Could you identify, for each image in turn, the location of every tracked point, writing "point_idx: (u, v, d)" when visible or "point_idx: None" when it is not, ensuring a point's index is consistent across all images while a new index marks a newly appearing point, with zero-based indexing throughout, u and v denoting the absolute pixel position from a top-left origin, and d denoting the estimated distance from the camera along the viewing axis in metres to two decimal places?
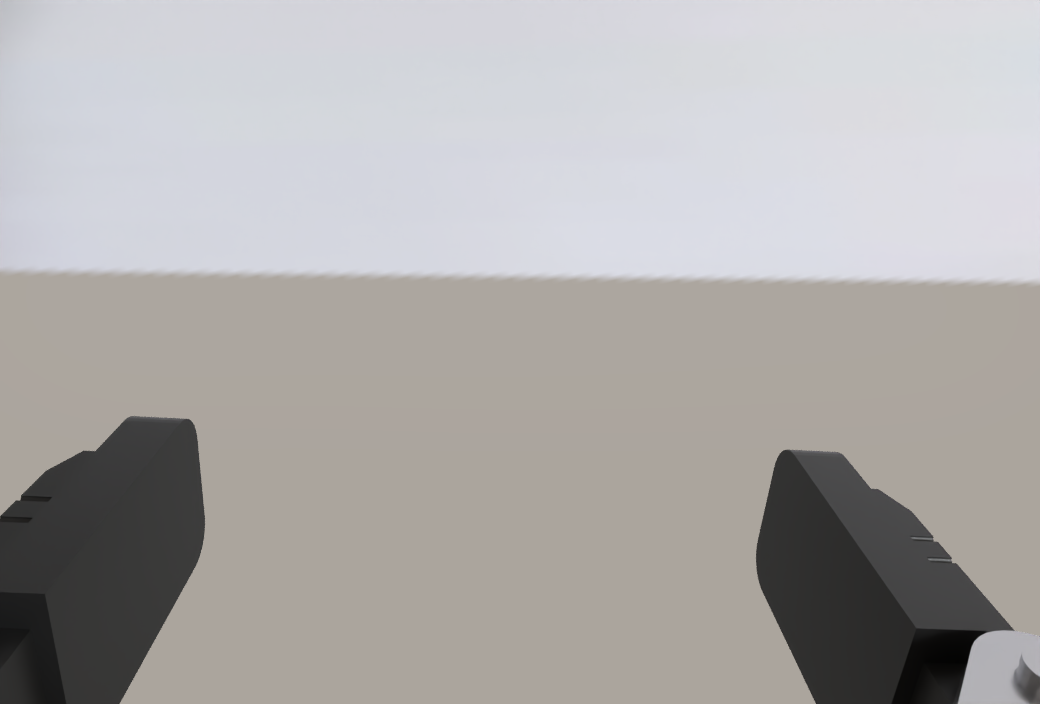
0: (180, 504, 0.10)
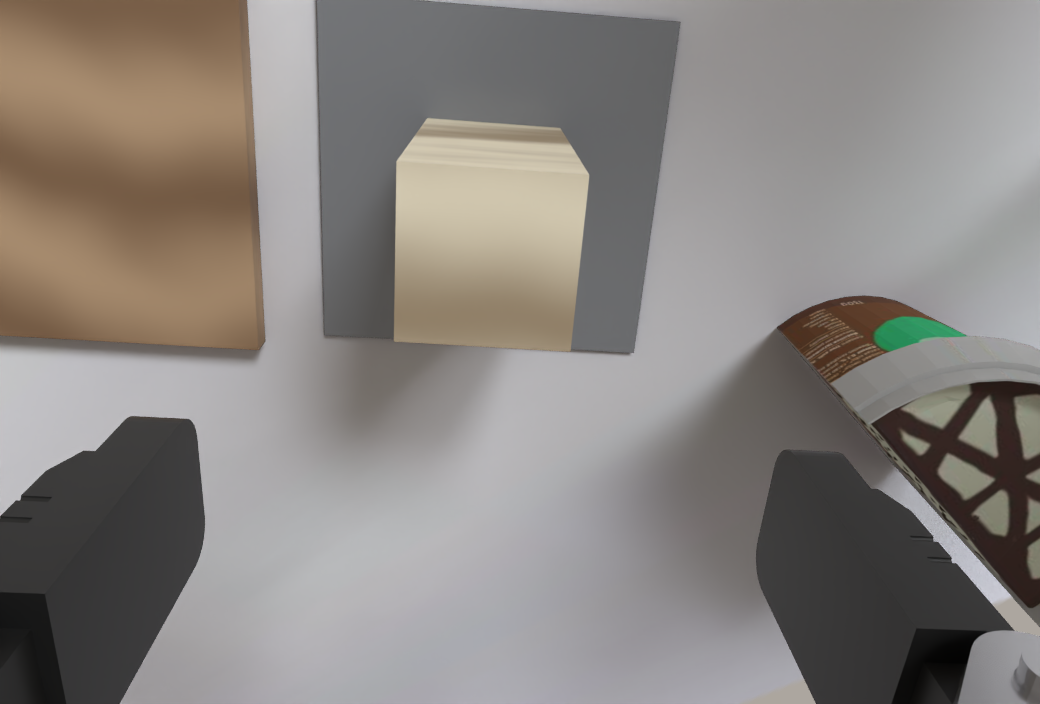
0: (180, 504, 0.10)
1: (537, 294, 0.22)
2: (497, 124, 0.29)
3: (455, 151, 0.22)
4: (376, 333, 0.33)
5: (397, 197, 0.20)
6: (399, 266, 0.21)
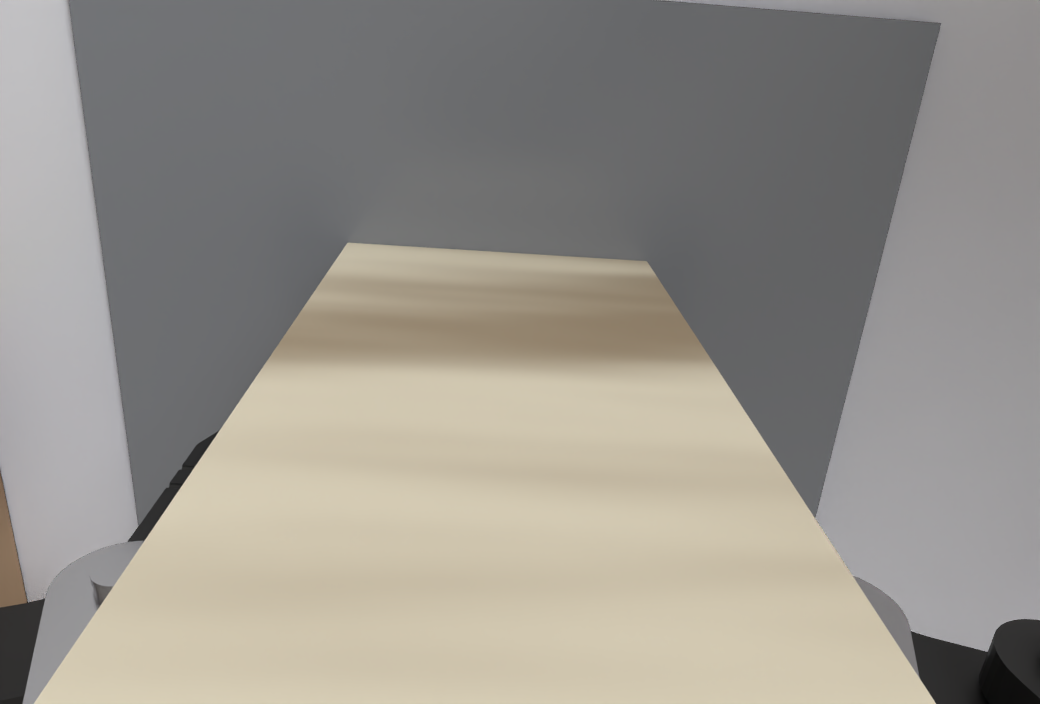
0: None
1: None
2: (506, 258, 0.13)
3: (360, 509, 0.06)
4: None
5: None
6: None
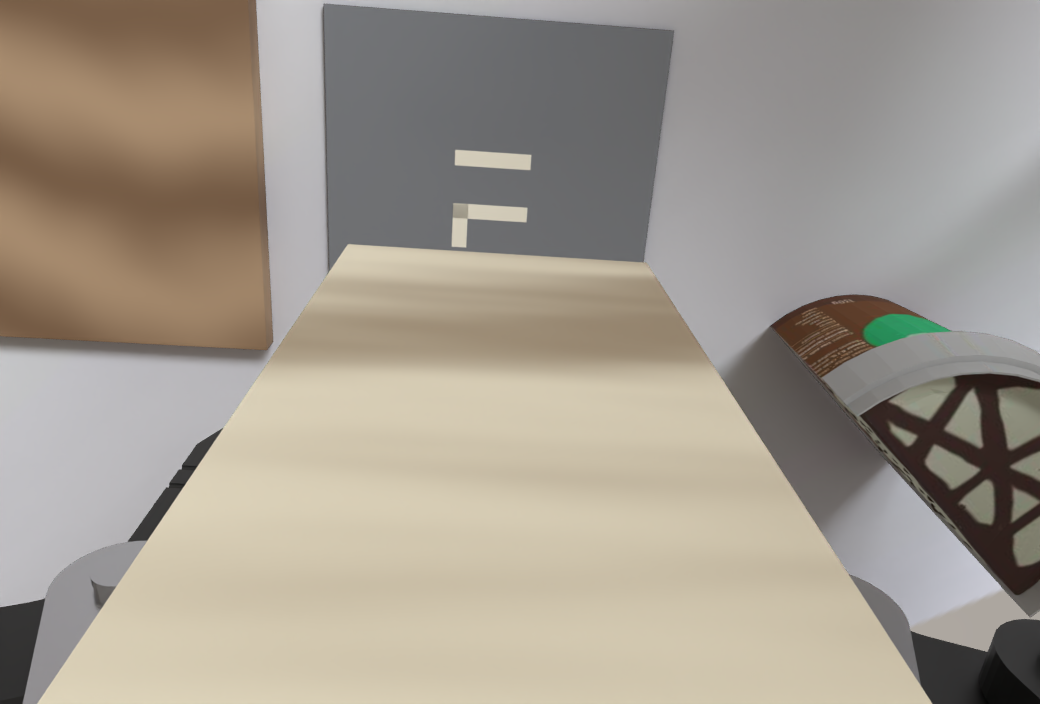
0: None
1: None
2: (506, 260, 0.13)
3: (361, 511, 0.06)
4: None
5: None
6: None
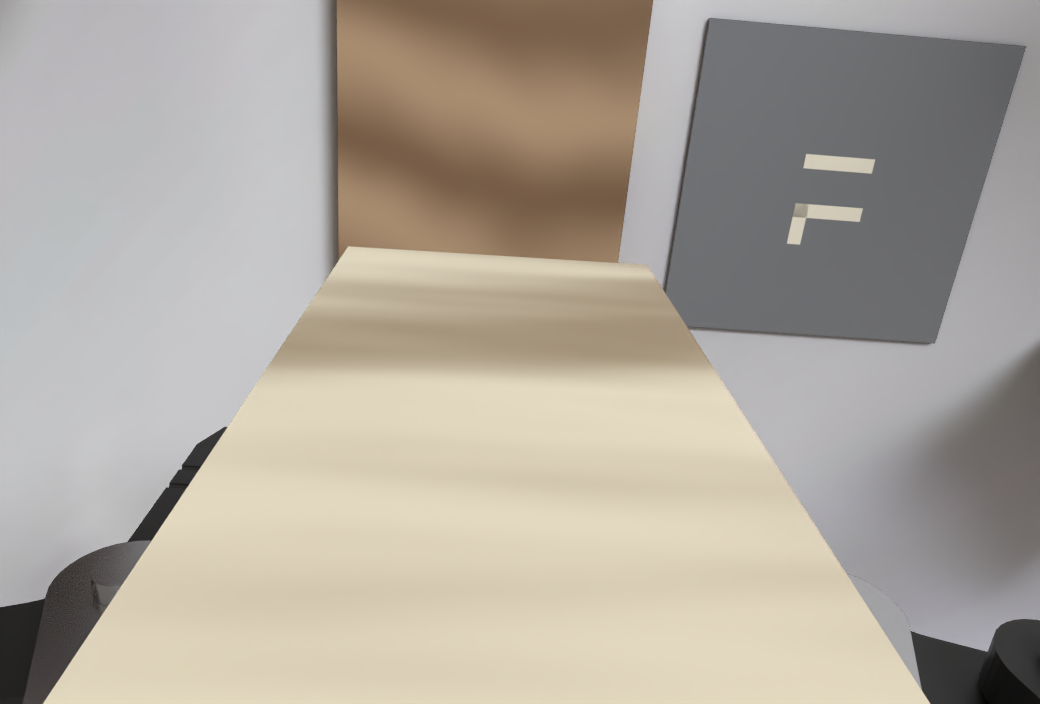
0: None
1: None
2: (507, 262, 0.13)
3: (361, 516, 0.06)
4: (707, 323, 0.36)
5: None
6: None
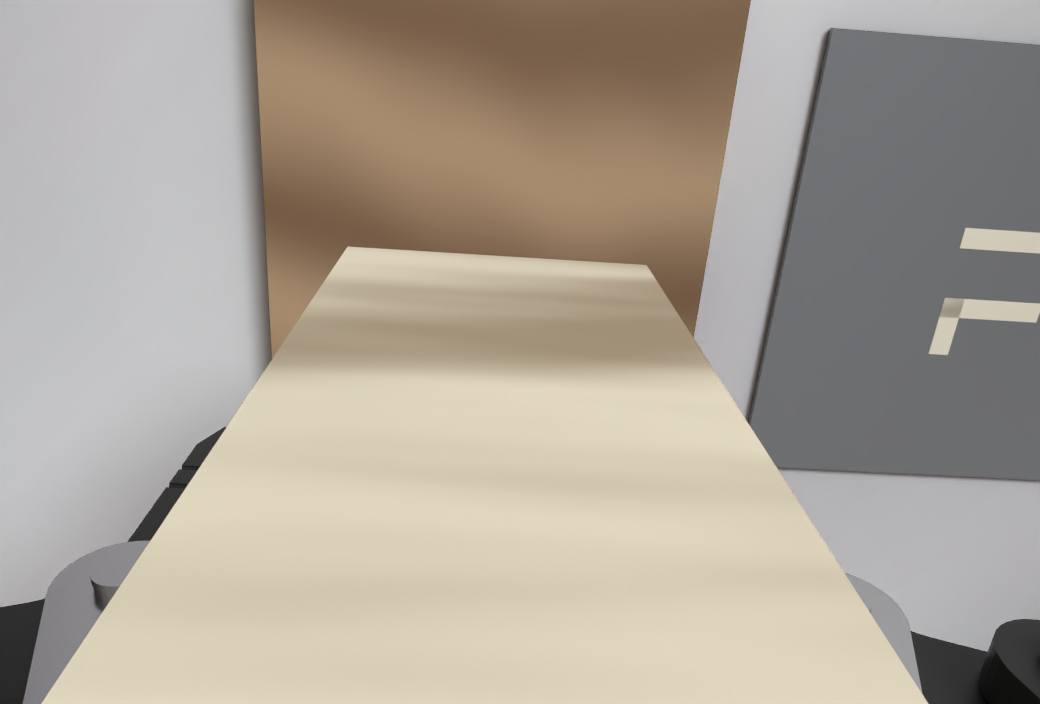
0: None
1: None
2: (506, 262, 0.13)
3: (360, 517, 0.06)
4: (808, 463, 0.25)
5: None
6: None
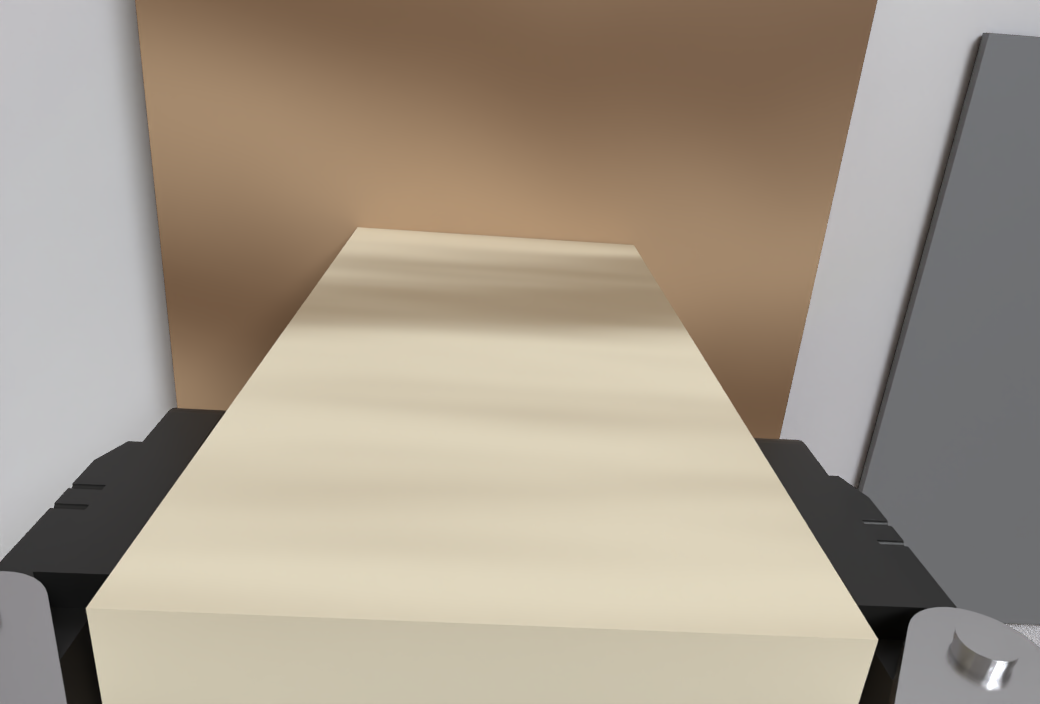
0: None
1: None
2: (503, 242, 0.14)
3: (372, 437, 0.07)
4: None
5: None
6: None
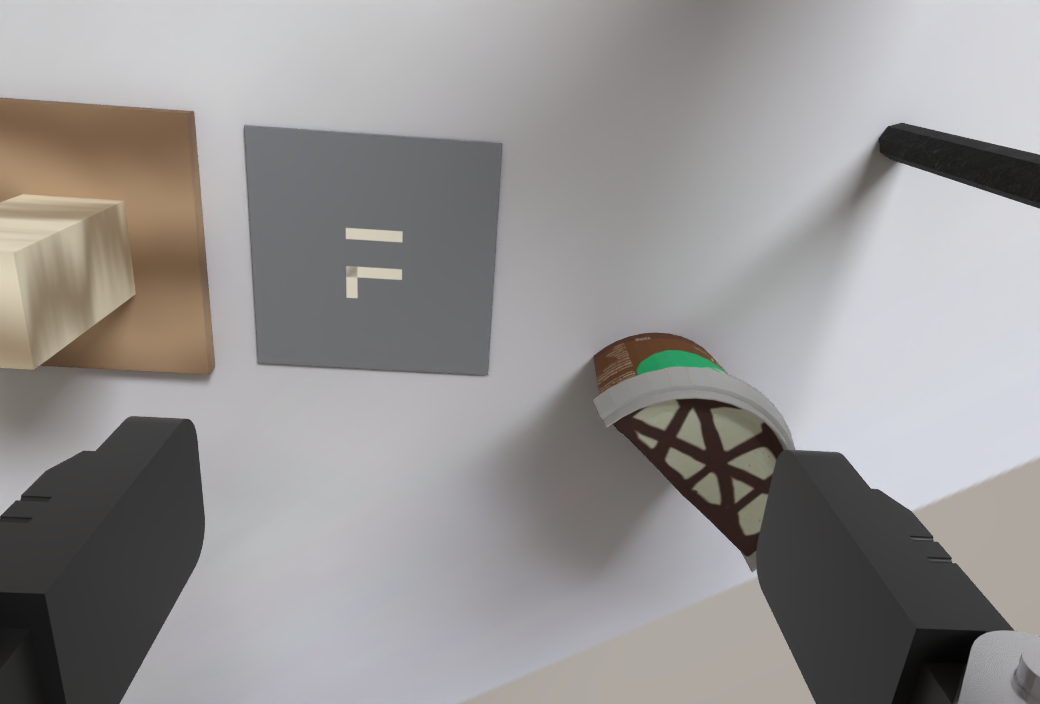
0: (180, 504, 0.10)
1: (0, 331, 0.32)
2: (72, 199, 0.39)
3: None
4: (296, 361, 0.44)
5: None
6: None
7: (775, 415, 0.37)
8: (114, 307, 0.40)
